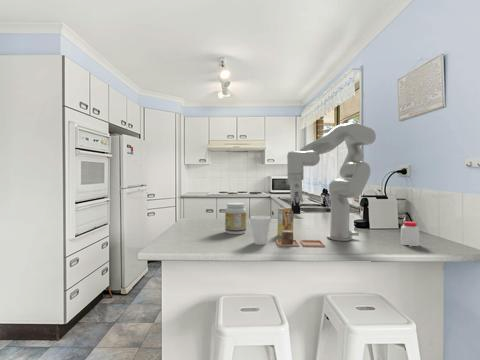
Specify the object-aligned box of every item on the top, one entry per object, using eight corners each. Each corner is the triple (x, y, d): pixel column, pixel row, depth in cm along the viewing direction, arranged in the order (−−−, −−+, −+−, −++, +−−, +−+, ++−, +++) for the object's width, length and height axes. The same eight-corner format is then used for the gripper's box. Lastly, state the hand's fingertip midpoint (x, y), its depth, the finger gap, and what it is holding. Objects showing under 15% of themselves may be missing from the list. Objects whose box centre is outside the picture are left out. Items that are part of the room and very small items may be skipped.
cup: (273, 242, 145) (274, 216, 144) (265, 247, 136) (266, 219, 136) (255, 240, 150) (255, 215, 149) (246, 244, 141) (246, 217, 140)
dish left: (320, 242, 146) (320, 240, 146) (325, 247, 136) (325, 245, 136) (300, 242, 146) (300, 239, 146) (303, 247, 137) (303, 244, 136)
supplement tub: (223, 230, 173) (223, 202, 173) (243, 230, 176) (243, 201, 175) (227, 235, 161) (227, 204, 161) (248, 234, 164) (248, 204, 164)
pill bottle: (416, 243, 146) (417, 221, 145) (420, 247, 138) (421, 224, 138) (399, 242, 148) (399, 220, 148) (402, 245, 141) (402, 223, 141)
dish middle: (296, 242, 147) (296, 239, 147) (299, 247, 137) (299, 244, 137) (276, 241, 147) (276, 239, 147) (277, 246, 137) (277, 244, 137)
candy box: (287, 233, 166) (288, 206, 166) (293, 235, 163) (294, 207, 163) (277, 235, 161) (277, 208, 160) (282, 237, 157) (283, 208, 157)
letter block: (291, 242, 144) (292, 230, 144) (293, 245, 139) (293, 232, 139) (281, 242, 145) (281, 229, 144) (282, 244, 140) (282, 232, 139)
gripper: (305, 177, 132) (306, 215, 133) (301, 176, 149) (301, 209, 150) (289, 177, 132) (289, 215, 133) (286, 176, 150) (286, 209, 150)
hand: (295, 212), depth 141 cm, fingers open, 9 cm apart
